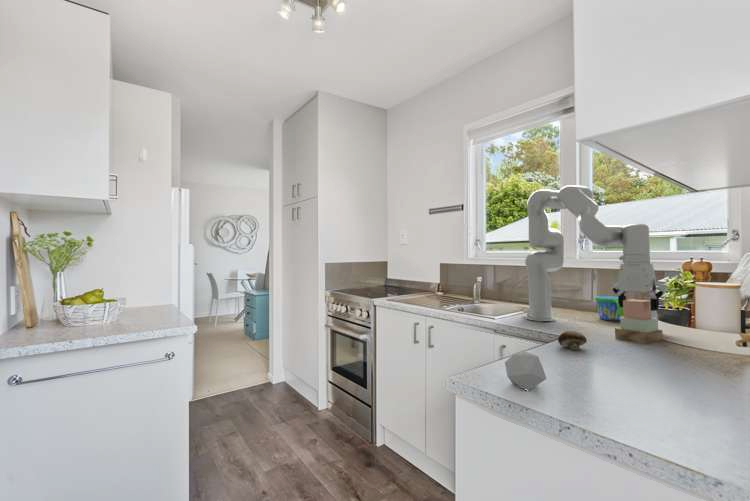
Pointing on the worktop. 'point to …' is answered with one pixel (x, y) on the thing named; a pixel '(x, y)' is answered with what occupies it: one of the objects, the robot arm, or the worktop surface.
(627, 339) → the bottom slab
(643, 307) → the cube
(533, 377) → the die
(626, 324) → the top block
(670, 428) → the worktop surface
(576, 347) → the mushroom
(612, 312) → the snack cup
